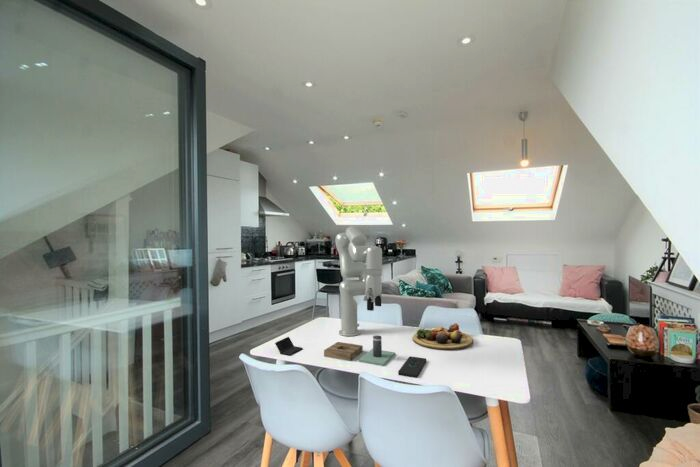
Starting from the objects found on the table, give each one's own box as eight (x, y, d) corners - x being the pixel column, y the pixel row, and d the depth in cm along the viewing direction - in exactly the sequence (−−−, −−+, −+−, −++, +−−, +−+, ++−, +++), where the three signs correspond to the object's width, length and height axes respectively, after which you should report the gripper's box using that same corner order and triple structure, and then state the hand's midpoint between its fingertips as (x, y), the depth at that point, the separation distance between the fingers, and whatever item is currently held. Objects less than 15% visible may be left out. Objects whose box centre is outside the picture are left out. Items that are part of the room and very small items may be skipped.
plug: (375, 353, 158) (374, 335, 158) (383, 355, 157) (382, 336, 157) (371, 356, 155) (371, 337, 155) (379, 357, 153) (379, 338, 153)
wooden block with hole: (338, 347, 171) (338, 341, 171) (362, 351, 165) (362, 345, 165) (324, 356, 158) (324, 350, 158) (350, 361, 152) (350, 354, 152)
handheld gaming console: (293, 353, 159) (283, 335, 162) (282, 361, 160) (272, 343, 163) (304, 348, 170) (294, 332, 173) (293, 356, 171) (284, 339, 174)
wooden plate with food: (444, 330, 202) (444, 316, 202) (486, 344, 173) (486, 328, 173) (401, 338, 188) (400, 324, 188) (439, 356, 159) (438, 338, 159)
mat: (372, 350, 165) (372, 348, 165) (395, 354, 160) (395, 352, 160) (358, 361, 151) (358, 359, 151) (383, 366, 146) (383, 363, 146)
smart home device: (427, 358, 151) (417, 375, 133) (427, 362, 151) (417, 379, 133) (409, 355, 155) (397, 371, 136) (409, 359, 155) (397, 376, 136)
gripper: (373, 270, 167) (373, 303, 168) (359, 274, 152) (359, 311, 152) (387, 270, 164) (387, 305, 164) (374, 275, 149) (374, 313, 149)
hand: (374, 308), depth 158 cm, fingers open, 9 cm apart
